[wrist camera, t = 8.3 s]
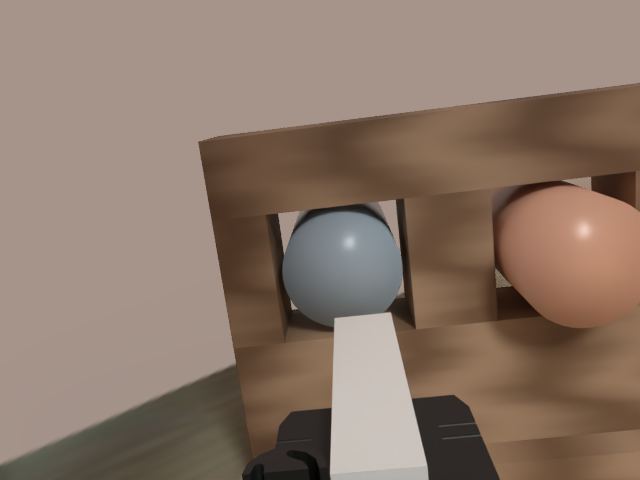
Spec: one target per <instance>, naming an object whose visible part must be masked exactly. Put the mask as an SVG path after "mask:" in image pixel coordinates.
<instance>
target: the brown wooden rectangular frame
mask: <svg viewBox="0 0 640 480" xmlns="http://www.w3.org/2000/svg"><path fill="white" fill-rule="evenodd" d="M198 143H199V149H200V155H201V160H202V166H203V172H204V178H205V184H206V190H207V195H208V201H209V207H210V212H211V218H212V225H213V230H214V236H215V242H216V248H217V254H218V260H219V265H220V271H221V277H222V283H223V289H224V294H225V300H226V306H227V312H228V318H229V324H230V330H231V335H232V341H233V347H234V353H235V359H236V364H237V370H238V376H239V382H240V388H241V394H242V399H243V405H244V411H245V417H246V423H247V429H248V434H249V440H250V446H251V452H252V458H253V460H254V459H255V458H256V457H257V456H259V455H261V454H263V453H265V452H267V451H269V450H272V449H275V446H276V444H277V441H276V440H277V435H278V430H279V425H280V424H281V423H282V422H283V421H284V419H285V418H286V417H287V416H288V415H289V414H290V412H292V411H302V410H313V409H324V408H332V388H333V353H334V327H330V326H326V325H323V324H320V323H317V322H315V321H313V320H311V319H310V318H308V317H307V316H305V315H304V314H303V313H302V312H301V311H299V309H296V310H292V308H291V301H290V297H289V295H288V294H287V291H286V288H285V286H284V281H283V273H282V268H283V259H284V252H283V245H282V239H281V231H280V224H279V217H278V213H284V212H294V211H302V210H311V209H319V208H328V207H336V206H345V205H353V204H362V203H370V202H379V201H387V200H396V207H397V217H398V227H399V238H400V248H401V259H402V270H403V279H404V291H405V298H398V299H394V301H393V302H392V303H391V305H390V306H389V307H388V308H387V309H386V310H385V311H384V312H383V313H389V312H391V316H392V320H393V324H394V328H395V333H396V337H397V341H398V345H399V349H400V353H401V358H402V362H403V366H404V370H405V374H406V379H407V383H408V387H409V391H410V395H411V399H413V398H423V397H434V396H445V395H455V396H456V397H458V398H459V399H460V400H462V401H463V402H464V403H465V404H467V405H468V406H469V407H470V410H471V412H472V414H473V417H474V419H475V423H476V424H477V426H478V429H479V431H480V434H481V436H482V438H483V440H484V443H485V445H486V448H487V450H488V452H489V455H490V457H491V459H492V462H493V464H494V466H495V469H496V471H497V473H498V476H499V478H500V480H640V303H639V304H638V305H637V306H636V307H635V308H633V309H632V310H631V311H630V312H628V313H627V314H626V315H624V316H623V317H621V318H619V319H617V320H615V321H613V322H611V323H608V324H605V325H602V326H598V327H592V328H571V327H567V326H562V325H560V324H557V323H554V322H552V321H550V320H548V319H547V318H545V317H544V316H542V315H541V314H540V313H539V312H538V311H536V310H535V309H534V308H533V307H532V306H531V305H530V304H529V302H528V301H527V300H526V299H525V298H524V297H523V296H522V295H521V294H520V293H519V292H518V291H517V290H516V289H515V288H514V287H513V286H510V287H501V288H496V279H495V261H494V243H493V225H492V207H491V190H490V188H498V187H506V186H515V185H523V184H532V183H540V182H549V181H558V180H566V179H574V178H582V177H591V183H592V184H591V185H592V191H594V192H597V193H600V194H603V195H606V196H609V197H611V198H614V199H617V200H620V201H623V202H625V203H627V204H629V205H631V206H632V207H634V208H635V209H636V210H638V211H639V212H640V83H637V84H629V85H621V86H613V87H605V88H597V89H589V90H581V91H573V92H565V93H557V94H549V95H541V96H534V97H525V98H518V99H510V100H502V101H494V102H486V103H478V104H470V105H462V106H454V107H447V108H439V109H430V110H422V111H415V112H407V113H399V114H391V115H383V116H375V117H367V118H359V119H351V120H343V121H335V122H327V123H319V124H312V125H304V126H296V127H288V128H280V129H272V130H264V131H257V132H248V133H240V134H232V135H225V136H218V137H214V138H210V139H207V140H203V141H200V142H198Z"/></svg>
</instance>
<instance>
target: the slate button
mask: <svg viewBox="0 0 640 480" xmlns="http://www.w3.org/2000/svg"><path fill="white" fill-rule="evenodd" d="M282 273H283V281H284V286H285V288H286V291H287V294H288V295H289V297H290V299H291V301H292V302H293V304H294V305H295V306H296V307H297V308H298V309H299V311H301V312H302V313H303V314H304V315H305V316H307V317H308V318H310V319H311V320H313V321H315V322H317V323H320V324H323V325H326V326H330V327H334V319H335V318H340V317H350V316H360V315H370V314H379V313H383V312H384V311H385V310H386V309H387V308H388V307H389V306H390V305H391V303H392V302H393V301H394V299H395V297H396V295H397V293H398V291H399V288H400V285H401V281H402V273H403V270H402V260H401V255H400V252H399V249H398V247H397V245H396V242H395V240H394V237H393V235H392V233H391V230H390V228H389V225H388V223H387V221H386V218H385V216H384V214H383V211H382V209H381V207H380V205H379V203H378V202H370V203H362V204H353V205H345V206H336V207H328V208H319V209H311V210H302V211H300V212H299V215H298V218H297V221H296V223H295V226H294V229H293V232H292V235H291V238H290V241H289V244H288V246H287V249H286V252H285V255H284V259H283V268H282Z"/></svg>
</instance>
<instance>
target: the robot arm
mask: <svg viewBox="0 0 640 480" xmlns="http://www.w3.org/2000/svg"><path fill="white" fill-rule="evenodd" d="M276 441H277V444H276V446H275V449H272V450H269V451H267V452H265V453H263V454H261V455H259V456H257V457H256V458H255V459H254V460H252V461H251V462H250V463H249V464H248V465H247V467H246V469H245V470H244V472H243V474H242V477H243V480H500V478H499V476H498V473H497V471H496V469H495V466H494V464H493V462H492V459H491V457H490V455H489V452H488V450H487V448H486V445H485V443H484V440H483V438H482V436H481V434H480V431H479V429H478V426H477V424H476V423H475V419H474V417H473V414H472V412H471V410H470V407H469V406H468V405H467V404H465V403H464V402H463V401H462V400H460V399H459V398H458V397H456V396H455V395H445V396H434V397H423V398H413V399H411V395H410V391H409V387H408V383H407V379H406V374H405V370H404V366H403V362H402V358H401V353H400V349H399V345H398V341H397V337H396V333H395V328H394V324H393V320H392V316H391V312H389V313H379V314H370V315H360V316H350V317H340V318H335V319H334V353H333V388H332V408H324V409H313V410H302V411H292V412H290V414H289V415H288V416H287V417H286V418H285V419H284V421H283V422H282V423H281V424H280V425H279V430H278V435H277V440H276Z"/></svg>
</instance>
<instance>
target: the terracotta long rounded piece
mask: <svg viewBox="0 0 640 480" xmlns="http://www.w3.org/2000/svg"><path fill="white" fill-rule="evenodd" d="M490 190H491V207H492V225H493V243H494V261H495V268H496V269H497V270H498V271H499V272H500V273H501V274H502V275H503V276H504V278H505V279H506V280H507V281H508V282H509V283H510V284H511V285H512V286H513V287H514V288H515V289H516V290H517V291H518V292H519V293H520V294H521V295H522V296H523V297H524V298H525V299H526V300H527V301H528V302H529V304H530V305H531V306H532V307H533V308H534V309H535V310H536V311H538V312H539V313H540V314H541V315H542V316H544V317H545V318H547V319H548V320H550V321H552V322H554V323H557V324H560V325H562V326H567V327H571V328H592V327H598V326H602V325H605V324H608V323H611V322H613V321H615V320H617V319H619V318H621V317H623V316H624V315H626V314H627V313H628V312H630V311H631V310H632V309H633V308H635V307H636V306H637V305H638V304H639V303H640V212H639V211H638V210H636V209H635V208H634V207H632V206H631V205H629V204H627V203H625V202H623V201H620V200H617V199H614V198H611V197H609V196H606V195H603V194H600V193H597V192H594V191H591V190H588V189H585V188H582V187H579V186H576V185H574V184H570V183H567V182H564V181H562V180H558V181H549V182H540V183H532V184H523V185H515V186H506V187H498V188H490Z"/></svg>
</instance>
